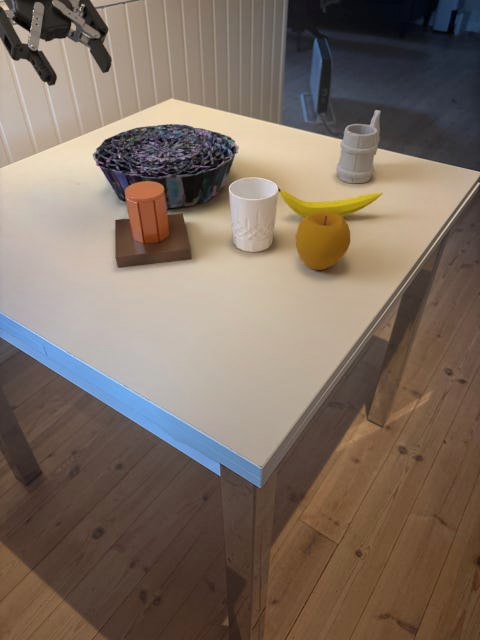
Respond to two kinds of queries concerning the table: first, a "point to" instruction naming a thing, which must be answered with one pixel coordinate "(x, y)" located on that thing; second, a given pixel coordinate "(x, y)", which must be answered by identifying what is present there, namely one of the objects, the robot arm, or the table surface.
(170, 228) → the cup stand
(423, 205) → the table surface
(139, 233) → the orange cup
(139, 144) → the decorative bowl
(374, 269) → the table surface
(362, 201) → the banana
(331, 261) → the apple
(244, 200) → the white cup
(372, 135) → the mug
